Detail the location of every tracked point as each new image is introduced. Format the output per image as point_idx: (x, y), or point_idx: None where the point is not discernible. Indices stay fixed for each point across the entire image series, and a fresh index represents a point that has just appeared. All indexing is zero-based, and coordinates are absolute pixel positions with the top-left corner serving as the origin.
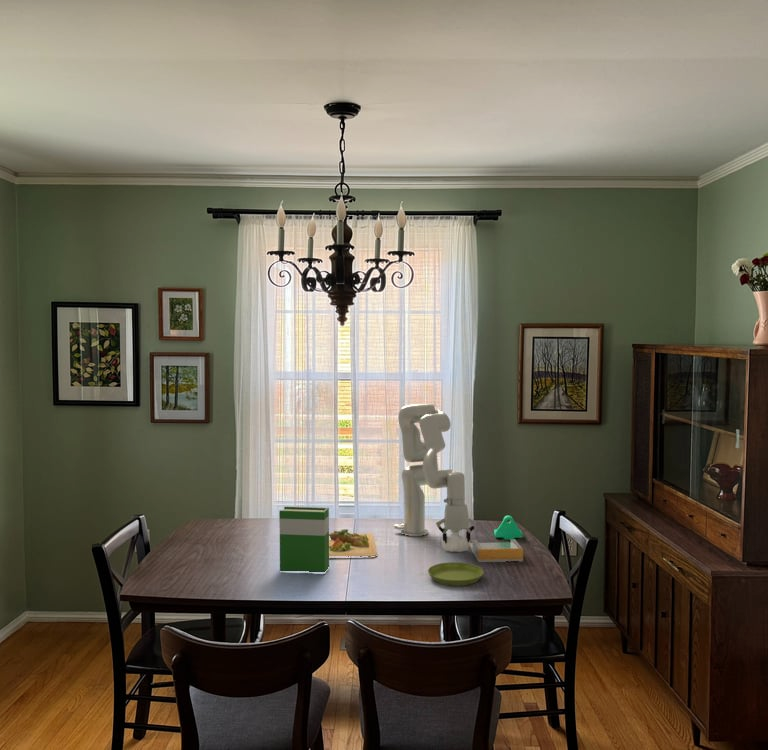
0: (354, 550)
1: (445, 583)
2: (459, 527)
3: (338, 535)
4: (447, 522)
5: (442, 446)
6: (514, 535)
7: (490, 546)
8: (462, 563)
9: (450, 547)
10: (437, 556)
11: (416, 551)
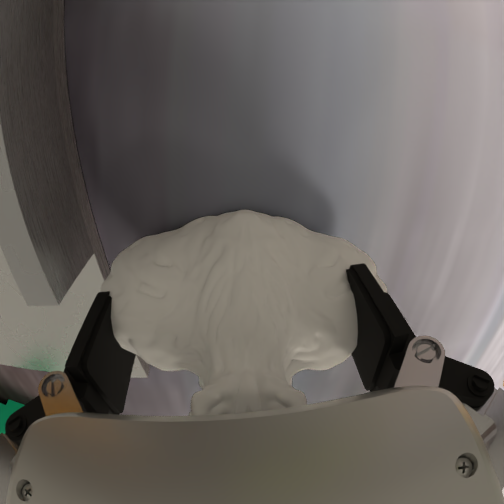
0: None
1: None
2: (174, 447)
3: None
4: (476, 491)
5: None
6: (2, 410)
7: (13, 312)
8: None
9: (298, 235)
10: (411, 98)
11: (493, 230)
